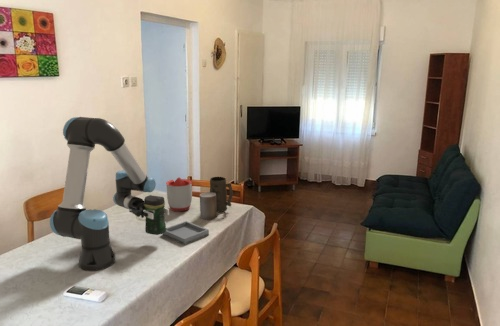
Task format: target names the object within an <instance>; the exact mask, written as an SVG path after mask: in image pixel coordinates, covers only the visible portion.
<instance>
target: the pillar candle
mask: <svg viewBox="0 0 500 326" xmlns="http://www.w3.org/2000/svg"><path fill="white" fill-rule="evenodd" d="M216 205H217V204H216V193H213V192H210V191H208V192H207V191H205V192H202V193H200V194H199V209H200V210H199V211H200V213H199V215H200V218H201V219H202V220H207V221H208V220H214V219H216V218H217V217H218V215H217V214H218V212H217V206H216Z"/></svg>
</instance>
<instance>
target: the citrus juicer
mask: <svg viewBox="0 0 500 326" xmlns="http://www.w3.org/2000/svg"><path fill="white" fill-rule="evenodd" d="M165 183H166V197H167V199H166V200H167V203H168V207H169V208H170V209H169V210H170V211H173V212H183V211H188V210H189V209H190V208H191V204H192V199H193V189H192V187H193V186H192V185H193V184H192V183H193V182H192V180H190V179H186V178H181V177H177V178H176V179H175V180H174V179H170V180H169V181H166V182H165Z"/></svg>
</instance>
